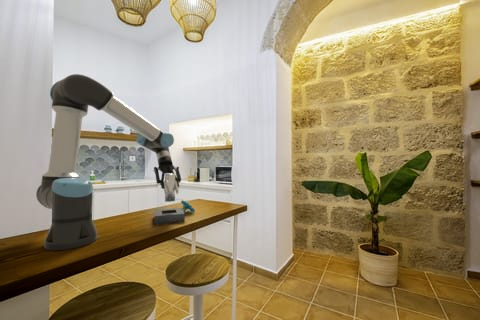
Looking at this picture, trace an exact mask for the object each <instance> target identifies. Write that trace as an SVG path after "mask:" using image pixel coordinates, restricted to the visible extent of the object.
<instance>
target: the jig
mask: <svg viewBox="0 0 480 320" xmlns="http://www.w3.org/2000/svg"><path fill="white" fill-rule="evenodd" d="M182 209H183V208H182V207H174V208H173V207H172V208H161V209H154V225H164V224H165V225H166V224H172V223H173V224H174V223H184V222H186V221H185V218H186V217H185V216H186V214H185V212H183V210H184V209H183V210H182Z"/></svg>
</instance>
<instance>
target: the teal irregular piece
mask: <svg viewBox="0 0 480 320" xmlns="http://www.w3.org/2000/svg"><path fill="white" fill-rule="evenodd" d="M180 203H181V204H182V207H181V208H182V210H183V212H184V213H185V211H186V210H189V211H190V212H192V213H195V211H196V210H195V208H194V207H193V206H192V205H190V203H188V202H186V201H185V200H183V199H182V200H180Z"/></svg>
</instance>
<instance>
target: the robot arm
mask: <svg viewBox="0 0 480 320" xmlns="http://www.w3.org/2000/svg"><path fill="white" fill-rule="evenodd" d="M49 96H50V99H51V101H52V102H51V109H52V110H53V111H54V112H55V117H54V127H53V133H52V141H51V148H50V156H49V163H48V169H47V172H45V173H44V174H42V176H41V184H40V185H39V186H38V188H37V189H36V192H35V194H36V200H37V201H38V203H39V204H40V205H41V206H43V207H44V208H46V209H48V210H49V209H51V225H50V227H49V229H48V232H47V233H46V237H45V239H44V245H43V246H44V249H45V250H47V251H53V252H55V251H64V250H65V251H67V250H72V249H76V248H81V247H83V246H86V245H90V244H91V243H93V242H95V241H96V240H97V239H98V230H97V228H96V225H95V222H94V220H93V195H94V193H93V192H94V187H93V186H94V185H93V182H92V181H91V180H90V179H87V178H83V177H82V178H81V177H80V175H79V174H78V173H77V164H78V156H79V148H80V139H81V131H82V124H83V118H84V117H86V116H87V115H88V111H89V107H91V108H92V107H93V108H94V109H95V110H97V111H103V112H104V113H107V114H108V115H109V116H111V117H112V118H114V119H116V120H117V121H118V122H120V123H122V124H124V125H125V126H127V127H128V128H130V129H132V130H133V131H134V132H136V133H137V134H138V135H137V136H136V143H137V144H138V145H140V146H141V147H143V148H146V149H148V150H149V151H152V152H154V153H155V154H156V160H157V164H158V166H157V167H156V166H154V167H153V172H154V174H155V180H156V184H157V185H158V184H159V185H160V187H161V189H163V191H164V196H165V195H167V187H166V182H165V174H175V195H177V194H179V191H180V190H179V188H180V184H179V183H181V181H182V178H181V173H180V169H179V168H180V166H175V165H173V164H174V163H173V160H172V157H171V153H170V149H169V147H172V146H173V145H174V142H175V137H174V135H173V134H172V133H171V132H164V131H162V129H159V128H158V127H157V126H156V125H155V124H153V123H152V122H150V121H149V120H147V119H146V118H145V117H144V116H142V115H141V114H139V113H137V112H136V111H135V110H134V109H133V108H132V107H129V106H128V105H127V104H126V103H125V102H123V101H121V100H120V99H119V98H117V97H116V96H115V94H114V92H113V91H112V90H111V89H109V88H108V87H106V86H105V85H103V84H102V83H101V82H99V81H97V80H96V79H94V78H91V77H90V76H86V75H84V74H78V73H75V74H70V75H68V76H65V77H64V78H62V79H60V80H58V81H57V82H55V83H54V84H53V85H52V86H51V88H50V91H49ZM159 171H160V172H161V179H160V174H159V173H160V172H159Z"/></svg>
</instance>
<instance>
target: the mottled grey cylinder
mask: <svg viewBox="0 0 480 320" xmlns="http://www.w3.org/2000/svg"><path fill="white" fill-rule="evenodd" d="M175 175H176V173H174V174H169V173H166V174H165V175H164V181H165V182H166V187H167V195H165V194H164V201H165V202H169V203H170V202H175V201H176V191H175Z"/></svg>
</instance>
